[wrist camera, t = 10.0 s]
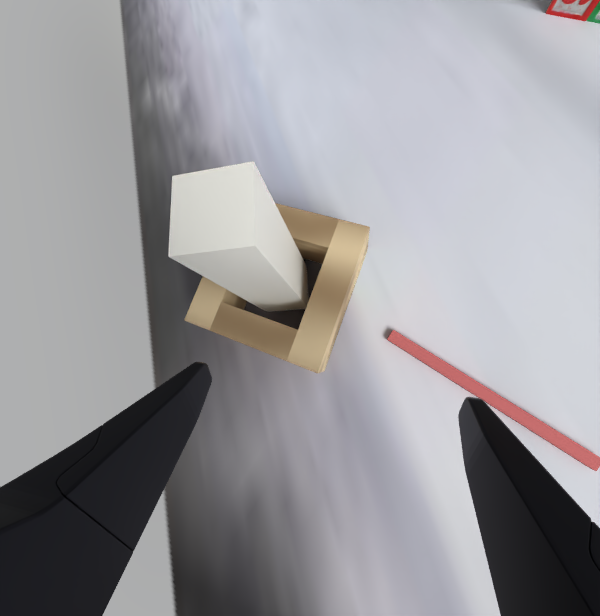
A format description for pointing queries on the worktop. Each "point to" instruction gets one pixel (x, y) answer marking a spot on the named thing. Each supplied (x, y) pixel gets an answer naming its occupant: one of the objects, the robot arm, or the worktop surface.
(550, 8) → the stack of blocks
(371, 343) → the worktop surface
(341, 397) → the worktop surface
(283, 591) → the worktop surface
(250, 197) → the white rectangular block
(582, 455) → the red square stick
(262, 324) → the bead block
